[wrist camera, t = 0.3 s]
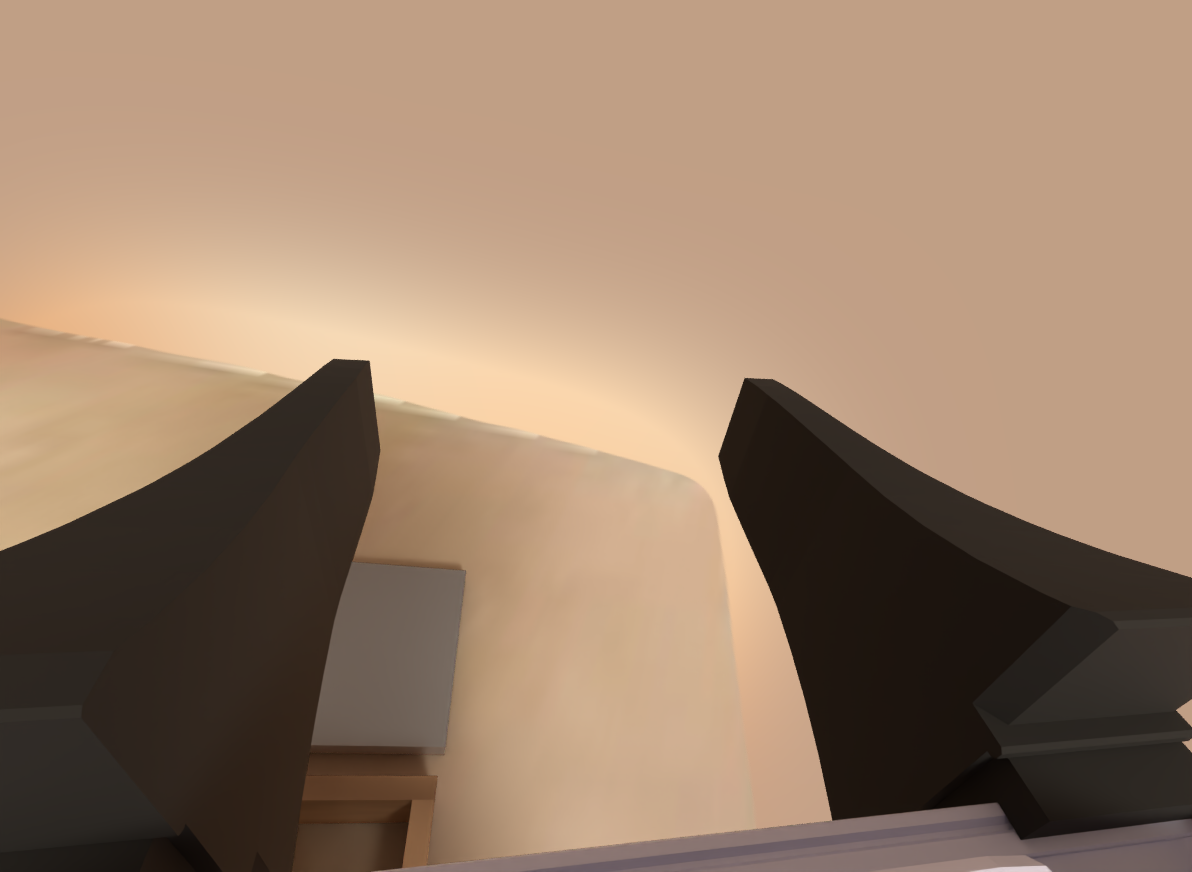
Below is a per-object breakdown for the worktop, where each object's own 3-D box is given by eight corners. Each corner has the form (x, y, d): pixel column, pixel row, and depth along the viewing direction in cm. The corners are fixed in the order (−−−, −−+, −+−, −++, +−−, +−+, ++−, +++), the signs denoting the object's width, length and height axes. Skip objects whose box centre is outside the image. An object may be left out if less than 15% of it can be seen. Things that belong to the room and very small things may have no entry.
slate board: (444, 754, 25) (445, 746, 24) (66, 750, 22) (59, 741, 21) (464, 579, 31) (466, 570, 31) (179, 558, 28) (176, 548, 28)
